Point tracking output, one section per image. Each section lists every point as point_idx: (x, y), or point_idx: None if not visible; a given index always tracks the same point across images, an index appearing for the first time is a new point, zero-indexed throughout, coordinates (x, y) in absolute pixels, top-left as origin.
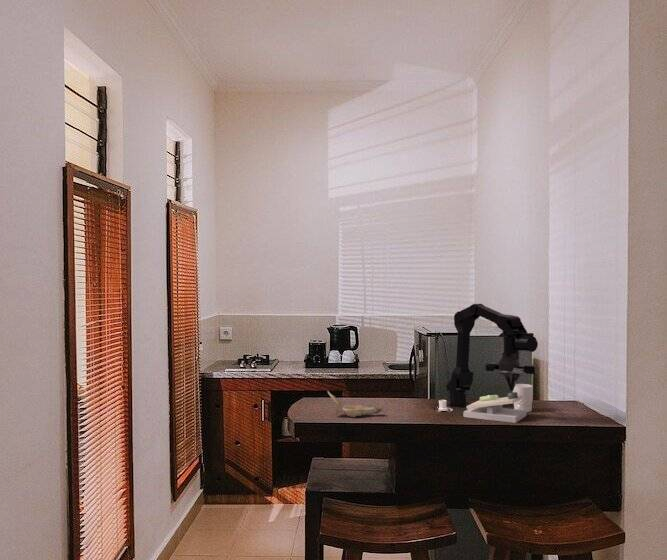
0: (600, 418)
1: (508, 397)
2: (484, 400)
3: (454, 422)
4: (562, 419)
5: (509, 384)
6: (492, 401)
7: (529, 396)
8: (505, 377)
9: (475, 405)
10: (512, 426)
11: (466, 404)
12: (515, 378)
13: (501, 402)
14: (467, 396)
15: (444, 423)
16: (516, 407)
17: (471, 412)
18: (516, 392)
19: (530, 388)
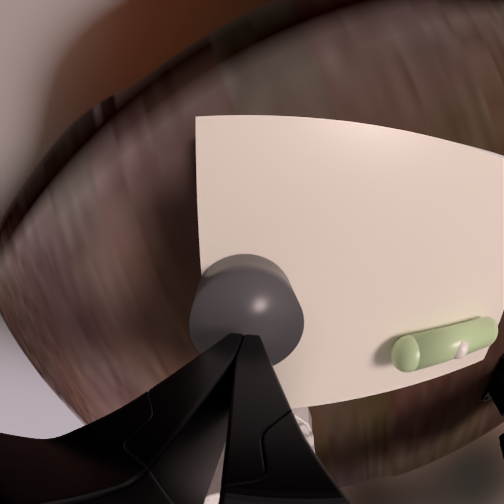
0: (38, 357)
1: (283, 274)
2: (469, 320)
3: (482, 30)
4: (82, 313)
5: (253, 384)
6: (424, 245)
7: (222, 455)
8: (333, 495)
9: (499, 157)
10: (206, 40)
11: (494, 378)
12: (69, 433)
13: (316, 120)
14: (501, 406)
15: (495, 10)
16: (294, 408)
17: (488, 152)
18: (192, 330)
19: (208, 490)
